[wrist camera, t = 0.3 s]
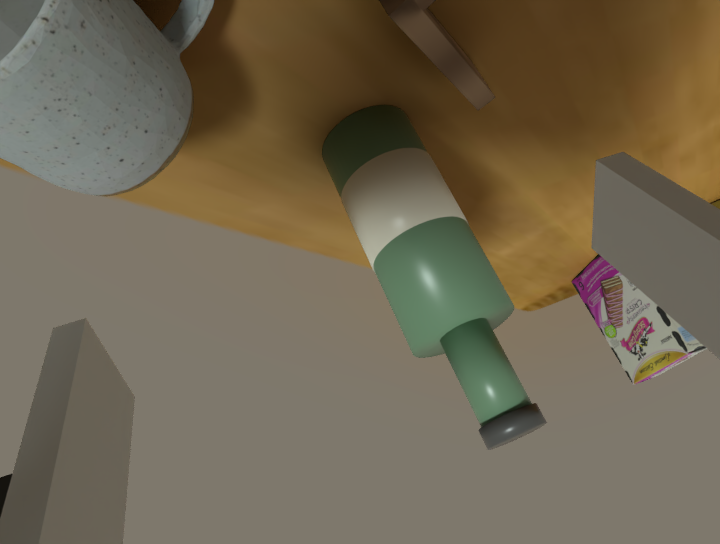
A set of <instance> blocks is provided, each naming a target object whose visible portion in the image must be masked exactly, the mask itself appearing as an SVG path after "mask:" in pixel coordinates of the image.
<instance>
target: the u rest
mask: <svg viewBox="0 0 720 544" xmlns="http://www.w3.org/2000/svg"><path fill="white" fill-rule="evenodd" d="M379 1H380V2H381V4H382V6H383V7H384V9H385V11H386V12H387V14H388V16H389V17H390V18H391V19H392V20H393V21H394V22H395V23H396V24H397V25H398V26H399V27H400V28H401V29H402V31H403V32H404V33H405V34H406V35H407V36H408V37H409V38H410V39H411V40H412V41H413V42H414V43H415V44H416V45H417V46H418V47H419V49H420V50H421V51H422V52H423V53H424V54H425V55H426V56H427V57H428V58H429V59H430V60H431V61H432V62H433V63H434V64H435V66H436V67H437V68H438V69H439V70H440V71H441V72H442V73H443V74H444V75H445V76H446V77H447V78H448V79H449V80H450V81H451V82H452V84H453V85H454V86H455V87H456V88H457V89H458V90H459V91H460V92H461V93H462V94H463V95H464V96H465V97H466V98H467V99H468V100H469V102H470V103H471V104H472V105H473V106H474V107H475V108H476V109H477V110H480V109H481V108H482V107H484V106H485V105H486V104H488V103H489V102H490V101H492V100H493V99H494V98H495V96H494V94H493V93H492V91H491V90H490V88H489V87H488V85H487V84H486V82H485V81H484V79H483V78H482V76H481V75H480V73H479V72H478V70H477V69H476V67H475V66H474V64H473V63H472V61H471V60H470V59H469V58H468V56H467V55H466V54H465V53H464V52H463V50H462V49H461V48H460V47H459V46H458V44H457V43H456V42H455V41H454V39H453V38H452V37H451V36H450V35H449V33H448V32H447V31H446V30H445V28H444V27H443V26H442V25H441V24H440V22H439V21H438V20H437V19H436V18H435V16H434V15H433V14H432V13H431V11H430V10H429V9H428V8H427V7H429V6H430V5H431V4H432V3H433V2H434V1H435V0H379Z"/></svg>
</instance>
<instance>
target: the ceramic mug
mask: <svg viewBox="0 0 720 544" xmlns="http://www.w3.org/2000/svg"><path fill="white" fill-rule="evenodd" d="M213 4H214V0H182V1H181V2H180V4H179V8H178V10H177V11H176V13H175V14H174V15H173V16H172V18H171V19H170V21H169V22H168V23H167V24H166V25H165V27H164V28H163V29H162V30H161V31H159V30H158V29H157V28H156V26H155V25H154V24H153V23H152V22H151V21H150V19H149V18H148V17H147V16H146V15H145V14H144V12H143V11H142V10H141V8H140V7H139V6H138V5H137V4H136V3H135V2H134V1H133V0H0V158H2V159H4V160H6V161H9V162H11V163H13V164H15V165H17V166H19V167H21V168H23V169H25V170H26V171H28V172H30V173H31V174H33V175H35V176H37V177H39V178H42V179H44V180H46V181H48V182H50V183H52V184H54V185H57V186H60V187H63V188H66V189H69V190H72V191H76V192H80V193H84V194H89V195H96V196H112V195H117V194H121V193H125V192H128V191H132V190H134V189H136V188H138V187H140V186H142V185H144V184H146V183H147V182H149V181H150V180H152V179H153V178H155V177H156V176H157V175H158V174H159V173H160V172H161V171H162V170H163V169H164V168H165V167H167V166H168V165H169V163H170V162H171V161H172V160H173V159H174V158H175V157H176V155H177V153H178V152H179V150H180V149H181V147H182V145H183V143H184V141H185V139H186V137H187V134H188V131H189V128H190V125H191V122H192V118H193V103H194V96H193V89H192V86H191V82H190V80H189V77H188V75H187V73H186V71H185V69H184V67H183V65H182V63H181V61H180V53H181V52H182V51H183V50H184V49H186V48H187V47H188V46H189V45H190V43H191V42H192V41H193V40H194V39H195V38H196V36H197V35H198V33H199V32H200V30H201V29H202V28H203V26H204V24H205V22H206V20H207V18H208V16H209V14H210V12H211V10H212V7H213Z"/></svg>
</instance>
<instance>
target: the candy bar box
mask: <svg viewBox="0 0 720 544" xmlns="http://www.w3.org/2000/svg"><path fill="white" fill-rule="evenodd" d="M572 283H573V285H574V287H575V288H576V290H577V292H578V293H579V295H580V297H581V299H582V300H583V302H584V303H585V305H586V307H587V308H588V310H589V312H590V313H591V315H592V317H593V318H594V320H595V322H596V324H597V325H598V327H599V328H600V330H601V332H602V333H603V335H604V336H605V338H606V340H607V342H608V343H609V345H610V347H611V348H612V350H613V352H614V353H615V355H616V357H617V358H618V360H619V362H620V363H621V365H622V367H623V368H624V370H625V372H626V373H627V375H628V377H629V378H630V380H631V382H632V384H636V383H640V382H643V381H645V380H648V379H650V378H653V377H655V376H658V375H660V374H662V373H664V372H666V371H667V370H669V369H671V368H673V367H675V366H676V365H678V364H680V363H682V362H683V361H685V360H687V359H689V358H691V357H693V356H695V355H696V354H698V353H700V352H702V351H704V350H706V349H707V348H706V347H705V346H704V345H702V344H701V343H700V342H699V341H698V340H697V339H696V338H694V337H693V336H692V335H691V334H690V333H689V332H688V331H686V330H685V329H684V328H683V327H682V326H681V325H680V324H678V323H677V322H676V321H675V320H674V319H673V318H671V317H670V316H669V315H668V314H667V313H666V312H665V311H663V310H662V309H661V308H660V307H659V306H658V305H657V304H655V303H654V302H653V301H652V300H651V299H650V298H649V297H647V296H646V295H645V294H644V293H643V292H642V291H641V290H639V289H638V288H637V287H636V286H635V285H634V284H632V283H631V282H630V281H629V280H628V279H627V278H626V277H624V276H623V275H622V274H621V273H620V272H619V271H618V270H616V269H615V268H614V267H613V266H612V265H611V264H610V263H608V262H607V261H606V260H605V259H604V258H603V257H601V256H600V255H598V256H597V257H596V258H595V259H594V260H593V261H592V262H591V263H590V264H589V265H588V266H587V267H586V268H585V269H584V270H583V271H582V272H581V273H580V274H579V275H578V276H577V277H576V278H575V279H574V280H573V281H572Z"/></svg>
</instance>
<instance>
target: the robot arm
mask: <svg viewBox="0 0 720 544" xmlns="http://www.w3.org/2000/svg"><path fill="white" fill-rule="evenodd" d="M592 249H593V250H595V251H596V252H597V253H598V254H599V255H600V256H601V257H603V258H604V259H605V260H606V261H607V262H608V263H610V264H611V265H612V266H613V267H614V268H615V269H616V270H618V271H619V272H620V273H621V274H622V275H623V276H624V277H626V278H627V279H628V280H629V281H630V282H631V283H632V284H634V285H635V286H636V287H637V288H638V289H639V290H641V291H642V292H643V293H644V294H645V295H646V296H647V297H649V298H650V299H651V300H652V301H653V302H654V303H655V304H657V305H658V306H659V307H660V308H661V309H662V310H663V311H665V312H666V313H667V314H668V315H669V316H670V317H671V318H673V319H674V320H675V321H676V322H677V323H678V324H680V325H681V326H682V327H683V328H684V329H685V330H686V331H688V332H689V333H690V334H691V335H692V336H693V337H694V338H696V339H697V340H698V341H699V342H700V343H701V344H702V345H704V346H705V347H706V348H707V349H708V350H709V351H711V352H712V353H713V354H714V355H715V356H717V358H719V359H720V209H718V208H717V207H715V206H713V205H712V204H710V203H708V202H707V201H705V200H703V199H702V198H700V197H698V196H697V195H695V194H693V193H692V192H690V191H688V190H687V189H685V188H683V187H681V186H680V185H678V184H676V183H675V182H673V181H671V180H670V179H668V178H666V177H665V176H663V175H661V174H660V173H658V172H656V171H655V170H653V169H651V168H650V167H648V166H646V165H644V164H643V163H641V162H639V161H638V160H636V159H634V158H633V157H631V156H629V155H628V154H626V153H624V152H621V153H618V154H614V155H611V156H608V157H605V158H601V159H598V160H596V172H595V191H594V211H593V230H592ZM134 399H135V397H134V395H133V393H132V392H131V390H130V388H129V387H128V385H127V383H126V382H125V380H124V379H123V377H122V375H121V374H120V372H119V371H118V369H117V367H116V366H115V364H114V363H113V361H112V359H111V358H110V356H109V355H108V353H107V351H106V350H105V348H104V347H103V345H102V343H101V342H100V340H99V338H98V337H97V335H96V334H95V332H94V330H93V329H92V327H91V326H90V324H89V322H88V321H87V319H86V318H85V319H81V320H78V321H75V322H71V323H68V324H65V325H62V326H59V327H56V328H53V330H52V334H51V337H50V341H49V345H48V348H47V352H46V356H45V359H44V363H43V366H42V370H41V374H40V377H39V381H38V384H37V388H36V391H35V395H34V399H33V402H32V406H31V409H30V413H29V417H28V420H27V424H26V427H25V431H24V435H23V438H22V442H21V446H20V449H19V453H18V457H17V460H16V463H15V467H14V470H13V474H10V475H7V476H4V477H1V478H0V544H123V534H124V522H125V510H126V497H127V485H128V473H129V459H130V447H131V436H132V424H133V411H134Z"/></svg>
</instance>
